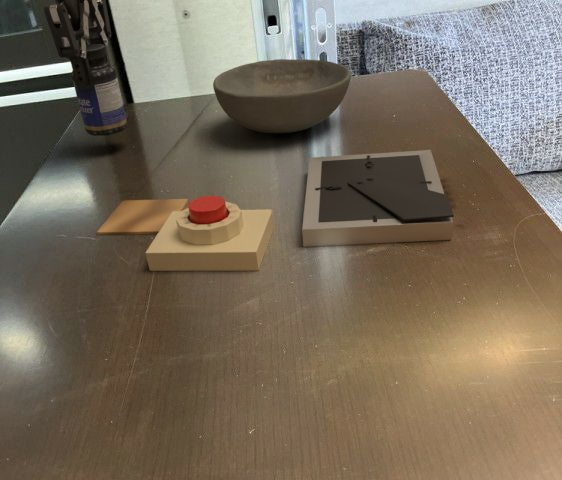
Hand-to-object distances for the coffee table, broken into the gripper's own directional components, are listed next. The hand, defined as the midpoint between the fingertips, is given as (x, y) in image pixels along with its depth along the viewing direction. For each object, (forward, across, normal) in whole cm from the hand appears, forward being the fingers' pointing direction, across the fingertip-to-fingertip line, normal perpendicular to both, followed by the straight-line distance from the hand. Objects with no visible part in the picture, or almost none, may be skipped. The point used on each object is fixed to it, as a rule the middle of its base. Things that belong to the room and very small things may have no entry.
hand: (95, 81), depth 87 cm
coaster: (+11, +20, +11) cm, 25 cm away
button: (+8, +28, +22) cm, 36 cm away
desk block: (+11, +28, +22) cm, 37 cm away
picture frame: (+11, +17, +39) cm, 44 cm away
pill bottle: (+7, 0, 0) cm, 7 cm away
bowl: (+11, -12, +24) cm, 29 cm away
